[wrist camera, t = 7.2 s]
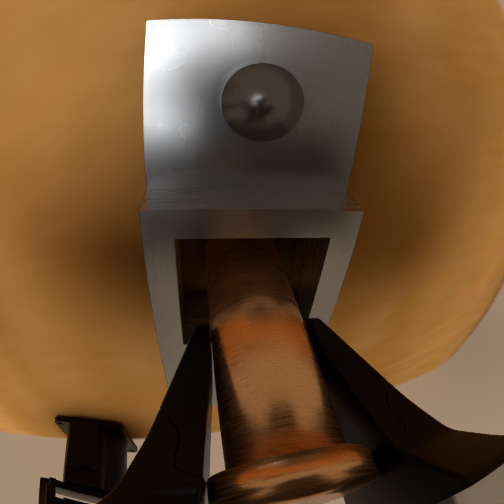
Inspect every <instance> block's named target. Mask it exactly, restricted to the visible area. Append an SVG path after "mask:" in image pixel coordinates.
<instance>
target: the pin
mask: <svg viewBox="0 0 504 504" xmlns="http://www.w3.org/2000/svg"><path fill="white" fill-rule="evenodd" d="M205 259H206V276H207V291H208V305H209V319H210V331H211V343H212V354H213V365H214V375H215V385H216V395H217V404H218V413H219V422H220V430H221V438H222V446H223V454H224V462H225V469H226V470H224V471H222V472H219V473H217V474H215V475H213V476H211V477H210V478H209V479H208V480H207V481H206V488H207V496H208V504H323V503H326V502H329V501H332V500H335V499H338V498H341V497H343V496H346V495H348V494H351V493H353V492H356V491H358V490H360V489H362V488H364V487H366V486H368V485H370V484H371V483H373V482H374V481H376V480H377V479H378V478H379V477H380V475H379V472H378V469H377V467H376V464H375V461H374V458H373V455H372V453H371V450H370V447H369V446H368V445H366V444H361V443H347V444H346V442H345V439H344V436H343V433H342V430H341V427H340V424H339V422H338V419H337V416H336V413H335V410H334V407H333V404H332V401H331V398H330V395H329V392H328V389H327V387H326V384H325V381H324V378H323V375H322V372H321V369H320V367H319V364H318V361H317V358H316V355H315V352H314V350H313V347H312V344H311V341H310V338H309V336H308V333H307V330H306V327H305V324H304V322H303V319H302V316H301V313H300V311H299V308H298V305H297V302H296V300H295V297H294V294H293V292H292V289H291V286H290V283H289V281H288V278H287V275H286V273H285V270H284V267H283V265H282V262H281V259H280V257H279V254H278V251H277V249H276V246H275V243H274V241H273V238H218V239H208V241H207V244H206V248H205Z"/></svg>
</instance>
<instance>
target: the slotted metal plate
mask: <svg viewBox="0 0 504 504" xmlns="http://www.w3.org/2000/svg"><path fill="white" fill-rule="evenodd" d="M372 49H373V45H372V44H369V43H365V42H362V41H358V40H354V39H350V38H346V37H342V36H338V35H333V34H329V33H324V32H319V31H314V30H308V29H303V28H297V27H290V26H284V25H276V24H268V23H259V22H249V21H236V20H217V19H168V20H149V21H147V23H146V38H145V58H144V99H143V115H144V157H145V178H146V191H145V194H144V197H143V200H142V203H141V206H140V209H139V214H140V224H141V233H142V242H143V250H144V258H145V266H146V273H147V280H148V286H149V293H150V299H151V305H152V311H153V317H154V322H155V327H156V333H157V338H158V343H159V348H160V353H161V358H162V362H163V367H164V371H165V376H166V380H167V384H168V388H169V386H170V384H171V381H172V379H173V377H174V374H175V372H176V370H177V367H178V365H179V363H180V360H181V358H182V356H183V353H184V351H185V349H186V346H187V344H188V342H189V340H190V337H191V335H192V333H193V330H194V328H195V326H196V325H198V324H208V325H209V328H210V319H209V305H208V294H203V295H183V284H182V268H181V249H180V239H218V238H297V242H296V247H295V252H294V258H293V263H292V268H291V273H290V278H289V283H290V286H291V289H292V292H293V294H294V297H295V300H296V302H297V305H298V308H299V311H300V313H301V316H302V319H303V322H304V323H305V321H306V319H308V318H319V319H320V320H322V321H323V322H324V323H325V324H326V325H327V326H328V324H329V322H330V319H331V316H332V313H333V310H334V307H335V305H336V302H337V299H338V296H339V293H340V290H341V287H342V284H343V281H344V278H345V275H346V272H347V268H348V265H349V262H350V259H351V256H352V252H353V249H354V246H355V242H356V239H357V236H358V232H359V229H360V225H361V222H362V218H363V214H364V211H363V210H362V209H361V208H360V207H359V206H358V204H357V203H356V202H355V201H354V200H353V199H352V198H351V197H350V196H349V195H348V194H347V193H346V192H347V187H348V183H349V178H350V174H351V169H352V165H353V160H354V155H355V150H356V145H357V140H358V135H359V130H360V124H361V119H362V113H363V108H364V102H365V96H366V90H367V84H368V77H369V71H370V64H371V57H372ZM210 338H211V331H210ZM211 348H212V343H211ZM212 378H213V397H212V406H214V405H218V404H217V395H216V385H215V375H214V365H213V354H212Z"/></svg>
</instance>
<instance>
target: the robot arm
mask: <svg viewBox="0 0 504 504" xmlns="http://www.w3.org/2000/svg"><path fill="white" fill-rule="evenodd" d="M304 324H305V327H306V330H307V333H308V336H309V338H310V341H311V344H312V347H313V350H314V352H315V355H316V358H317V361H318V364H319V367H320V369H321V372H322V375H323V378H324V381H325V384H326V387H327V389H328V392H329V395H330V398H331V401H332V404H333V407H334V410H335V413H336V416H337V419H338V422H339V424H340V427H341V430H342V433H343V436H344V439H345V442H346V444H347V443H361V444H366V445H368V446H369V447H370V450H371V453H372V455H373V458H374V461H375V464H376V467H377V469H378V472H379V475H380V477H379V478H378V479H377V480H376V481H374V482H373V483H371V484H370V485H368V486H366V487H364V488H362V489H360V490H358V491H356V492H353V493H351V494H348V495H346V496H343V497H344V500H345V504H504V435H489V434H481V433H472V432H465V431H458V430H454V429H451V428H448V427H446V426H445V425H443V424H441V423H440V422H439V421H437V420H436V419H434V418H433V417H431V416H430V415H429V414H427V413H426V412H425V411H423V410H422V409H421V408H419V407H418V406H417V405H415V404H414V403H413V402H411V401H410V400H409V399H408V398H406V397H405V396H404V395H403V394H401V393H400V392H399V391H398V390H397V389H396V388H395V387H394V386H393V385H392V384H390V383H388V381H387V380H386V379H385V378H384V377H383V376H382V375H380V374H379V373H378V372H377V371H376V370H375V369H374V368H373V367H372V366H371V365H370V364H368V363H367V362H366V361H365V360H364V359H363V358H362V357H361V356H360V355H359V354H358V353H356V352H355V351H354V350H353V349H352V348H351V347H350V346H349V345H348V344H347V343H345V342H344V341H343V340H342V339H341V338H340V337H339V336H338V335H337V334H336V333H335V332H334V331H332V330H331V329H330V328H329V327H328V326H327V325H326V324H325V323H324V322H323V321H322V320H320V319H319V318H308V319H306V321H305V323H304ZM212 397H213V378H212V348H211V338H210V328H209V325H208V324H198V325H196V326H195V328H194V330H193V333H192V335H191V337H190V340H189V342H188V344H187V346H186V349H185V351H184V353H183V356H182V358H181V360H180V363H179V365H178V367H177V370H176V372H175V374H174V377H173V379H172V381H171V384H170V386H169V388H168V391H167V393H166V395H165V398H164V400H163V402H162V405H161V407H160V409H161V410H159V412H158V414H157V416H156V419H155V421H154V423H153V425H152V427H151V429H150V432H149V434H148V435H147V437H146V439H145V441H144V443H143V445H142V446H141V448H140V450H139V451H138V453H137V455H136V456H135V458H134V460H133V461H132V463H131V465H130V466H129V468H128V469H127V452H137V446H136V445H135V443H134V442H133V440H132V439H131V437H130V436H129V434H128V432H127V431H126V429H125V428H124V426H123V425H122V424H119V423H108V422H97V421H87V420H78V419H70V418H63V417H56V418H55V423H56V424H57V425H58V426H59V427H60V428H61V429H62V430H63V431H64V432H65V434H66V435H67V444H66V453H65V462H64V473H63V482H61V481H58V480H56V479H55V478H51V477H50V478H49V479H48V478H42V477H41V478H40V488H39V504H87V503H83V502H79V501H75V500H71V499H68V498H63V499H61V498H57V497H55V494H56V493H57V494H61V495H64V496H68V497H71V498H75V499H79V500H83V501H88V502H92V503H96V504H208V496H207V488H206V481H207V480H208V479H209V476H210V444H211V419H212Z"/></svg>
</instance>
